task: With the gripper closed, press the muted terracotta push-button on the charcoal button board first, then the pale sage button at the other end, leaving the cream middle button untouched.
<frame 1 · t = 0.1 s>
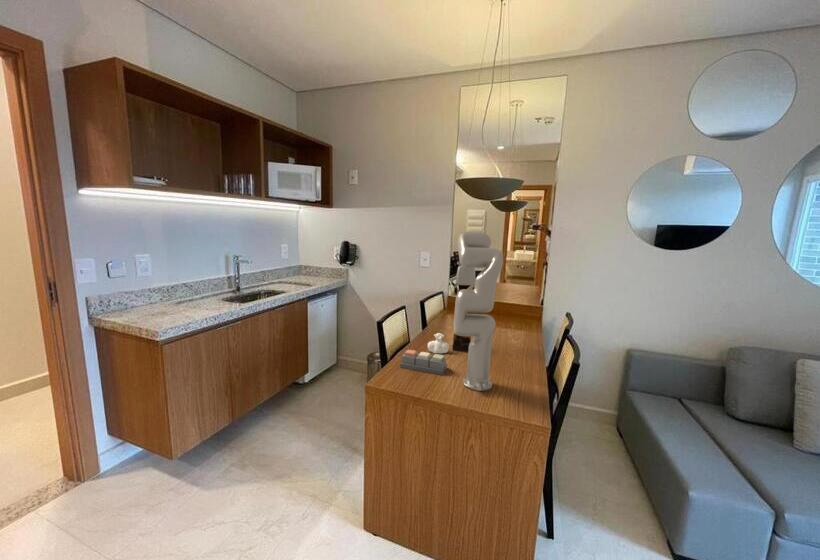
hand: (464, 294, 187), 31 cm above the table, tool pointing down, fingers open, 9 cm apart
button board: (423, 367, 163), on the table
terracotta button: (410, 354, 164), point 5 cm above the table, slide at 0.0 cm
cream button: (424, 357, 162), point 5 cm above the table, slide at 0.0 cm
sage button: (438, 359, 159), point 5 cm above the table, slide at 0.0 cm
bust: (438, 352, 184), on the table
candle: (461, 349, 190), on the table
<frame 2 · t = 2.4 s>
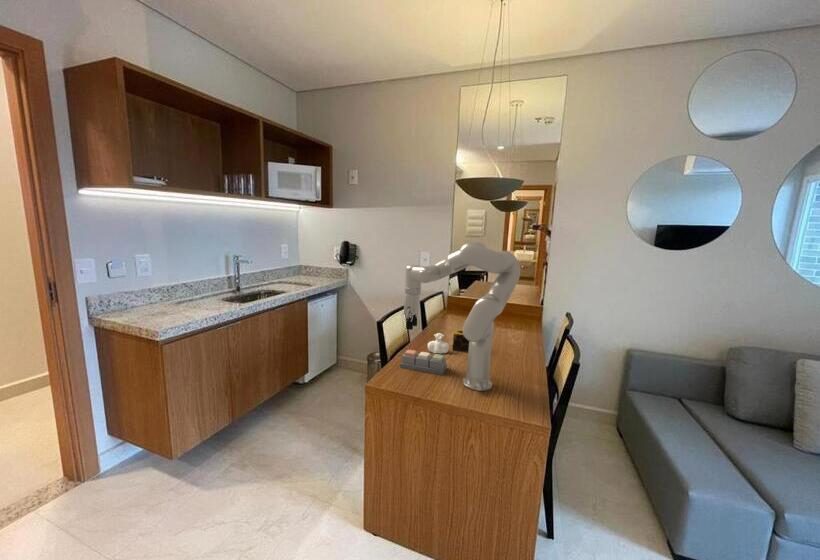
hand: (411, 327, 162), 20 cm above the table, tool pointing down, fingers open, 5 cm apart
nothing on the table moved.
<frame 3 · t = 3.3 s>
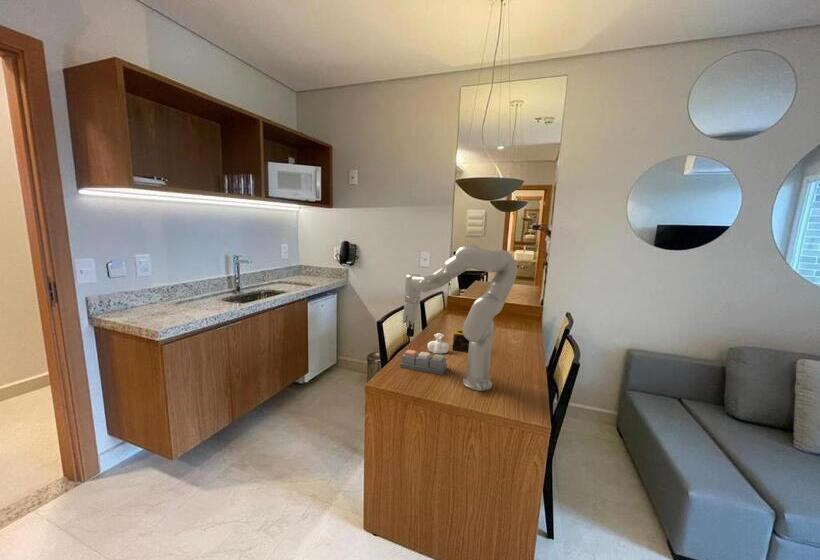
hand: (410, 336, 163), 15 cm above the table, tool pointing down, fingers closed
nothing on the table moved.
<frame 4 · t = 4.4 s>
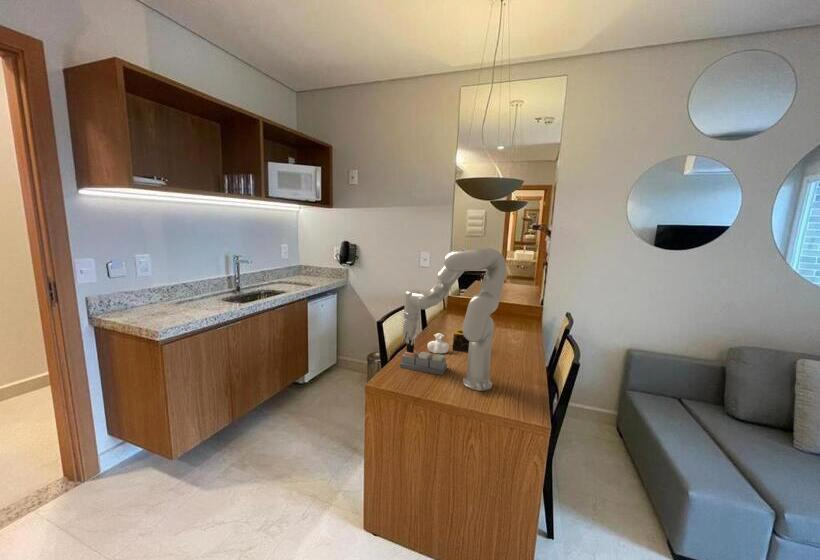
hand: (410, 351, 164), 7 cm above the table, tool pointing down, fingers closed
terracotta button: (410, 354, 164), point 5 cm above the table, slide at 0.1 cm, touching gripper
everything else where it was.
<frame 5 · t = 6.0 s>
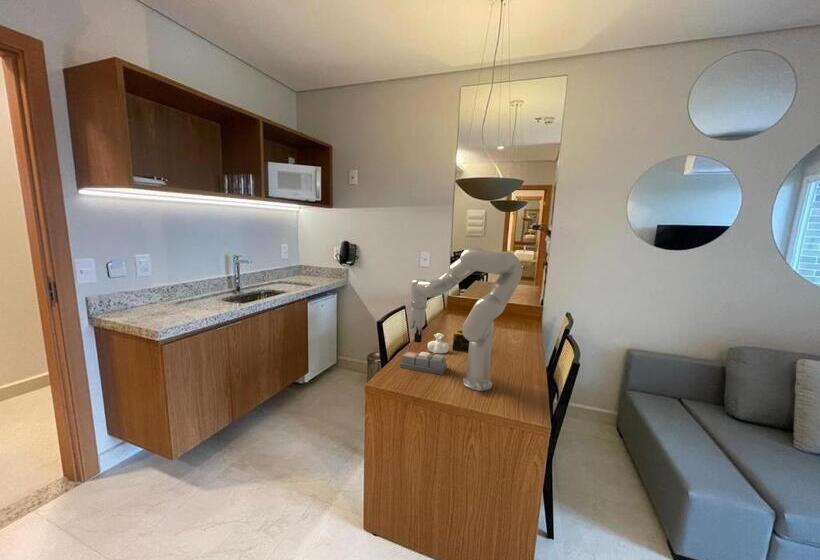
hand: (417, 341, 162), 13 cm above the table, tool pointing down, fingers closed
terracotta button: (410, 357, 164), point 4 cm above the table, slide at 1.5 cm
everything else where it was.
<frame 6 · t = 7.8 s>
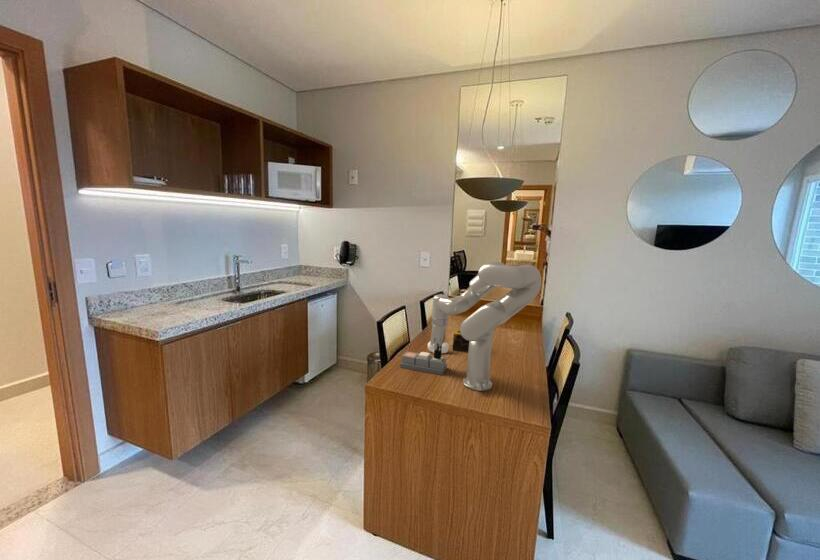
hand: (437, 357, 160), 6 cm above the table, tool pointing down, fingers closed
sage button: (437, 361, 160), point 4 cm above the table, slide at 1.0 cm, touching gripper
everything else where it was.
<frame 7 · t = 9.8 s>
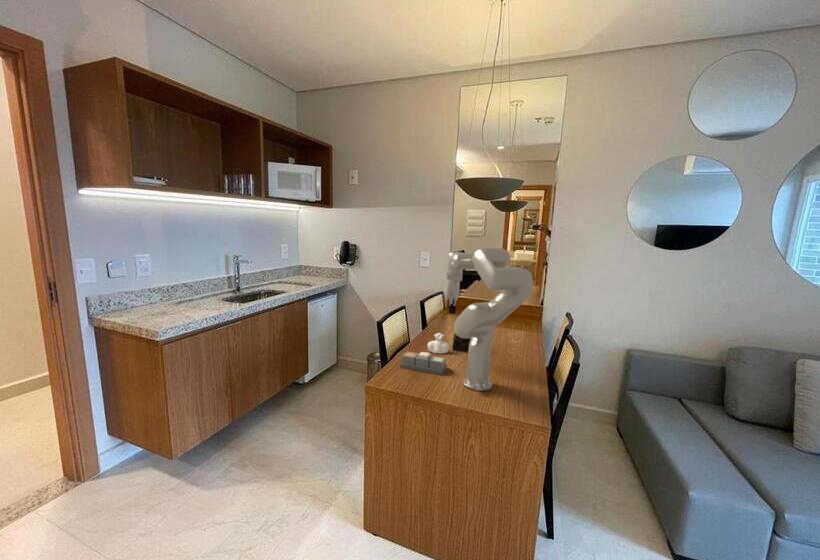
hand: (452, 313, 166), 26 cm above the table, tool pointing down, fingers closed
sage button: (437, 362, 160), point 4 cm above the table, slide at 1.5 cm
everything else where it was.
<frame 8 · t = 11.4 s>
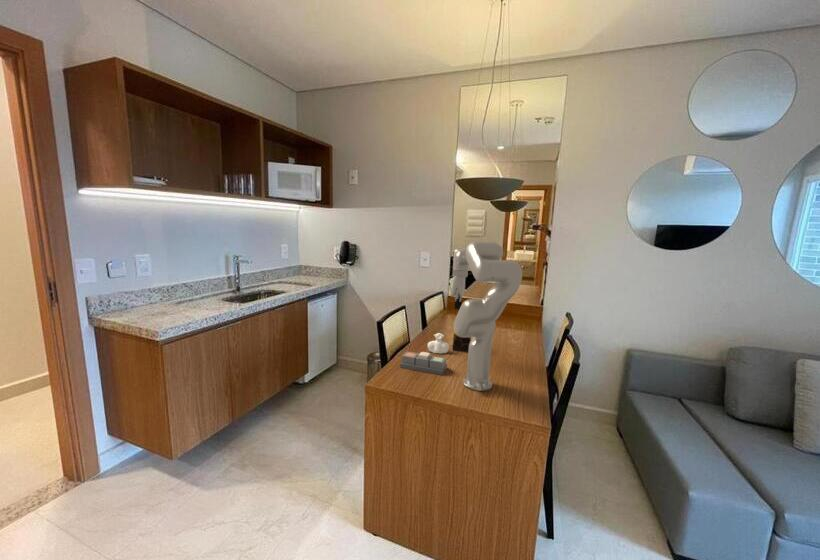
hand: (458, 308, 170), 27 cm above the table, tool pointing down, fingers closed
nothing on the table moved.
at the end: terracotta button slide at 1.5 cm; sage button slide at 1.5 cm; cream button slide at 0.0 cm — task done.
